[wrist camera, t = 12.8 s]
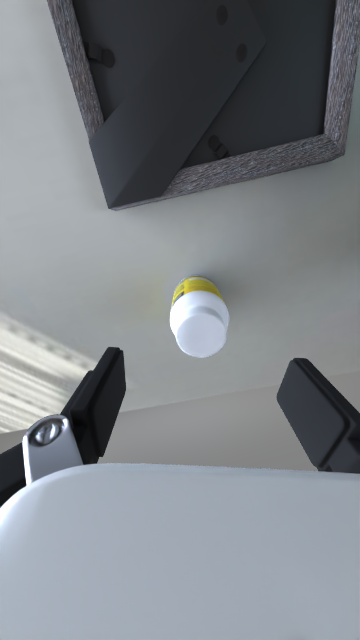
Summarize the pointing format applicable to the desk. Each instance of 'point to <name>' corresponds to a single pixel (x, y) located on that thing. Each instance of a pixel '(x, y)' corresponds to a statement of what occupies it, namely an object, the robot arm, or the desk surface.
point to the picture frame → (208, 89)
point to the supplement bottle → (199, 317)
